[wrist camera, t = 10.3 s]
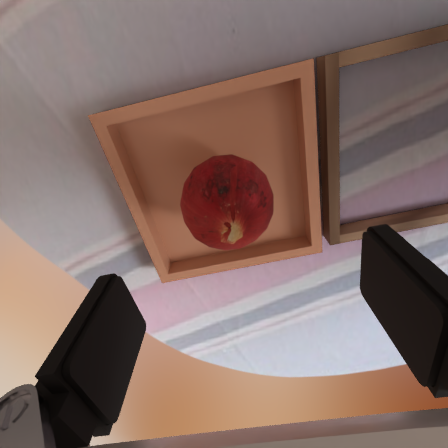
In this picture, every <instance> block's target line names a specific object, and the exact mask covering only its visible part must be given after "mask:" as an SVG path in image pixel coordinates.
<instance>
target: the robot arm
mask: <svg viewBox="0 0 448 448" xmlns="http://www.w3.org/2000/svg"><path fill="white" fill-rule="evenodd" d="M360 290H361V293H362V296H363V297H364V299H365V300H366V302H367V303H368V305H369V307H370V308H371V310H372V311H373V313H374V314H375V316H376V317H377V319H378V320H379V322H380V323H381V325H382V327H383V328H384V330H385V331H386V333H387V334H388V336H389V337H390V339H391V340H392V342H393V343H394V345H395V347H396V348H397V350H398V351H399V353H400V354H401V356H402V357H403V359H404V360H405V362H406V363H407V365H408V366H409V368H410V370H411V371H412V373H413V374H414V376H415V377H416V379H417V380H418V382H419V383H420V384H421V385H422V386H424V387H425V386H427V387H428V388H429V390H430V391H431V393H432V394H433V396H434V397H435V398H439V397H448V275H446V274H445V273H444V272H443V271H442V270H441V269H439V268H438V267H437V266H436V265H435V264H434V263H433V262H431V261H430V260H429V259H428V258H426V257H425V256H423V255H422V254H421V253H420V252H419V251H418V250H417V249H415V248H414V247H413V246H412V245H411V244H410V243H408V242H407V241H406V240H405V239H404V238H403V237H402V236H400V235H399V234H398V233H397V232H396V231H395V230H394V229H392V228H391V227H390V226H389V225H387V224H382V225H376V226H371V227H368V228H367V231H366V232H363V234H362V253H361V275H360ZM145 331H146V323H145V320H144V318H143V316H142V314H141V313H140V311H139V309H138V307H137V305H136V303H135V301H134V300H133V298H132V296H131V294H130V292H129V290H128V288H127V286H126V285H125V283H124V281H123V279H122V278H121V277H120V276H117V275H116V274H108V275H103V276H100V277H98V279H97V280H96V282H95V283H94V285H93V286H92V288H91V289H90V291H89V293H88V294H87V296H86V297H85V299H84V300H83V302H82V303H81V305H80V307H79V308H78V310H77V311H76V313H75V314H74V316H73V318H72V319H71V321H70V322H69V324H68V325H67V327H66V328H65V330H64V332H63V333H62V335H61V336H60V338H59V339H58V341H57V343H56V344H55V346H54V347H53V349H52V350H51V352H50V354H49V355H48V357H47V358H46V360H45V361H44V363H43V364H42V366H41V367H40V369H39V371H38V372H37V374H36V375H35V377H36V378H37V379H38V382H37V384H36V385H35V386H33V385H31V384H26V385H21V386H19V387H16V388H15V389H13V390H11V391H9V392H8V393H6V394H5V395H4V396H3V397H1V398H0V448H448V408H443V409H431V410H420V411H408V412H396V413H386V414H376V415H366V416H357V417H347V418H338V419H328V420H318V421H309V422H299V423H290V424H281V425H272V426H262V427H253V428H245V429H236V430H226V431H217V432H209V433H199V434H190V435H182V436H174V437H164V438H155V439H147V440H138V441H130V442H121V443H113V444H104V445H97V446H90V444H89V443H90V441H91V438H92V435H93V436H94V437H97V436H106V435H109V434H110V431H111V428H112V425H113V423H115V422H116V421H117V419H118V417H119V413H120V411H121V407H122V404H123V401H124V398H125V395H126V391H127V388H128V385H129V382H130V379H131V376H132V372H133V369H134V366H135V363H136V360H137V356H138V353H139V350H140V347H141V344H142V341H143V337H144V334H145Z"/></svg>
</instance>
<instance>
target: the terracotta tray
mask: <svg viewBox="0 0 448 448" xmlns="http://www.w3.org/2000/svg"><path fill="white" fill-rule="evenodd" d="M88 117H89V119H90V121H91V123H92V126H93V128H94V130H95V132H96V135H97V137H98V139H99V142H100V144H101V146H102V148H103V151H104V153H105V155H106V157H107V160H108V162H109V164H110V166H111V169H112V171H113V173H114V175H115V178H116V180H117V182H118V184H119V187H120V189H121V191H122V193H123V196H124V198H125V200H126V203H127V205H128V207H129V209H130V212H131V214H132V216H133V218H134V221H135V223H136V225H137V227H138V230H139V232H140V234H141V236H142V239H143V241H144V243H145V245H146V248H147V250H148V252H149V254H150V257H151V259H152V261H153V263H154V266H155V268H156V270H157V273H158V275H159V277H160V279H161V282H162V283H165V282H171V281H176V280H181V279H186V278H191V277H196V276H202V275H207V274H212V273H217V272H222V271H227V270H233V269H238V268H243V267H248V266H253V265H259V264H264V263H269V262H274V261H279V260H284V259H290V258H295V257H300V256H305V255H310V254H315V253H321V252H322V234H321V212H320V189H319V167H318V145H317V122H316V100H315V78H314V58H313V59H309V60H305V61H301V62H297V63H293V64H289V65H285V66H281V67H277V68H273V69H269V70H265V71H261V72H257V73H254V74H250V75H246V76H242V77H238V78H234V79H230V80H226V81H222V82H218V83H214V84H210V85H206V86H202V87H198V88H194V89H190V90H187V91H183V92H179V93H175V94H171V95H167V96H163V97H159V98H155V99H151V100H147V101H143V102H139V103H135V104H131V105H127V106H123V107H120V108H116V109H112V110H108V111H104V112H100V113H96V114H92V115H88ZM230 154H233V155H235V156H238V157H241V158H243V159H246V160H249V161H251V162H253V163H254V164H255V165H256V166H257V167H258V168H259V169H260V170H262V171H263V172H264V173H265V174H266V176H267V179H268V181H269V184H270V187H271V189H272V192H273V194H274V211H273V216H272V218H271V220H270V223H269V225H268V228H267V229H266V230H265V231H264V232H263V233H262V234H261V235H260V237H259V238H258V239H257V240H256V241H254V242H252V243H250V244H248V245H246V246H244V247H242V248H240V249H232V250H221V249H216V248H211V247H208V246H207V245H205V244H203V243H201V242H200V241H198V240H196V239H195V238H194V237H193V235H192V234H191V232H190V230H189V229H188V227H187V226H186V224H185V222H184V219H183V215H182V211H181V207H180V202H181V196H182V191H183V186H184V182H185V181H186V179H187V178H188V176H189V175H190V173H191V172H192V170H193V169H194V167H196V166H198V165H199V164H201V163H202V162H204V161H206V160H207V159H209V158H211V157H212V156H220V155H230Z"/></svg>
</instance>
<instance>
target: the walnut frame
mask: <svg viewBox="0 0 448 448" xmlns="http://www.w3.org/2000/svg"><path fill="white" fill-rule="evenodd" d="M444 41H448V24H447V25H443V26H439V27H435V28H431V29H427V30H423V31H419V32H415V33H411V34H407V35H403V36H400V37H396V38H392V39H388V40H384V41H380V42H376V43H372V44H368V45H364V46H360V47H356V48H352V49H348V50H344V51H340V52H336V53H332V54H329V55H325V56H321V57H317V58H316V63H317V87H318V112H319V137H320V162H321V186H322V211H323V236H324V237H325V239H326V240H327V242H328V243H329V244H330V245H334V244H339V243H344V242H349V241H355V240H360V239H362V234H363V232H366V231H367V228H368V227H371V226H376V225H382V224H387V225H389V226H390V227H391V228H392V229H394V230H395V231H396V232H401V231H406V230H411V229H416V228H421V227H426V226H431V225H437V224H442V223H447V222H448V203H447V204H442V205H437V206H432V207H427V208H422V209H417V210H412V211H407V212H402V213H397V214H392V215H387V216H382V217H377V218H372V219H367V220H362V221H357V222H352V223H347V224H342V225H340V171H339V67H343V66H347V65H351V64H355V63H359V62H363V61H367V60H371V59H375V58H379V57H384V56H388V55H392V54H396V53H400V52H404V51H408V50H412V49H416V48H420V47H424V46H428V45H432V44H436V43H440V42H444Z"/></svg>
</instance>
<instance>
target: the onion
mask: <svg viewBox="0 0 448 448" xmlns="http://www.w3.org/2000/svg"><path fill="white" fill-rule="evenodd" d="M180 207H181V211H182V215H183V219H184V222H185V224H186V226H187V227H188V229H189V230H190V232H191V234H192V235H193V237H194V238H195V239H196V240H198V241H200V242H201V243H203V244H205V245H207V246H208V247H211V248H216V249H221V250H232V249H240V248H242V247H244V246H246V245H248V244H250V243H252V242H254V241H256V240H257V239H258V238H259V237H260V235H261V234H262V233H263V232H264V231H265V230H266V229H267V228H268V225H269V223H270V220H271V218H272V216H273V211H274V194H273V192H272V189H271V187H270V184H269V181H268V179H267V176H266V174H265V173H264V172H263V171H262V170H260V169H259V168H258V167H257V166H256V165H255V164H254V163H253V162H251V161H249V160H246V159H243V158H241V157H238V156H235V155H233V154H230V155H220V156H212V157H211V158H209V159H207V160H206V161H204V162H202V163H201V164H199V165H198V166H196V167H194V169H193V170H192V172H191V173H190V175H189V176H188V178H187V179H186V181H185V182H184V186H183V191H182V196H181V202H180Z"/></svg>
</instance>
